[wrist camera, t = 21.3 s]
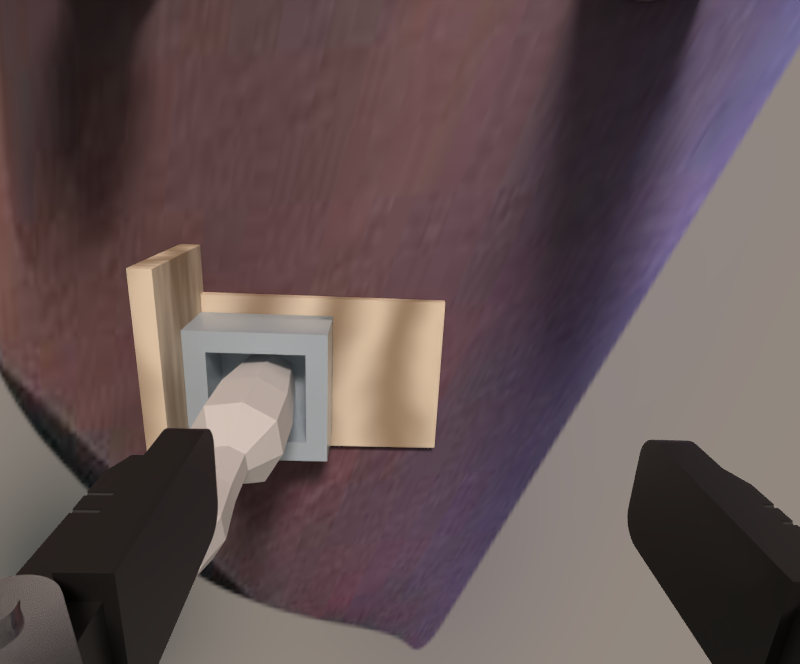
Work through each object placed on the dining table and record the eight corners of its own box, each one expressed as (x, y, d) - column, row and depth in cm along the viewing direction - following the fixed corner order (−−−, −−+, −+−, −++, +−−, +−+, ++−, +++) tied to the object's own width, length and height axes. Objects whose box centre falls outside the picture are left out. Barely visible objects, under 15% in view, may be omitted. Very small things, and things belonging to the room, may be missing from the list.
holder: (333, 316, 46) (327, 335, 41) (332, 431, 49) (327, 461, 44) (201, 311, 45) (180, 330, 40) (209, 428, 48) (191, 458, 44)
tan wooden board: (447, 254, 45) (466, 281, 36) (430, 479, 52) (442, 552, 42) (180, 244, 44) (126, 268, 35) (199, 475, 51) (158, 549, 41)
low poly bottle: (298, 417, 47) (234, 624, 26) (225, 402, 47) (101, 603, 26) (312, 351, 45) (255, 518, 24) (236, 335, 45) (113, 493, 24)
